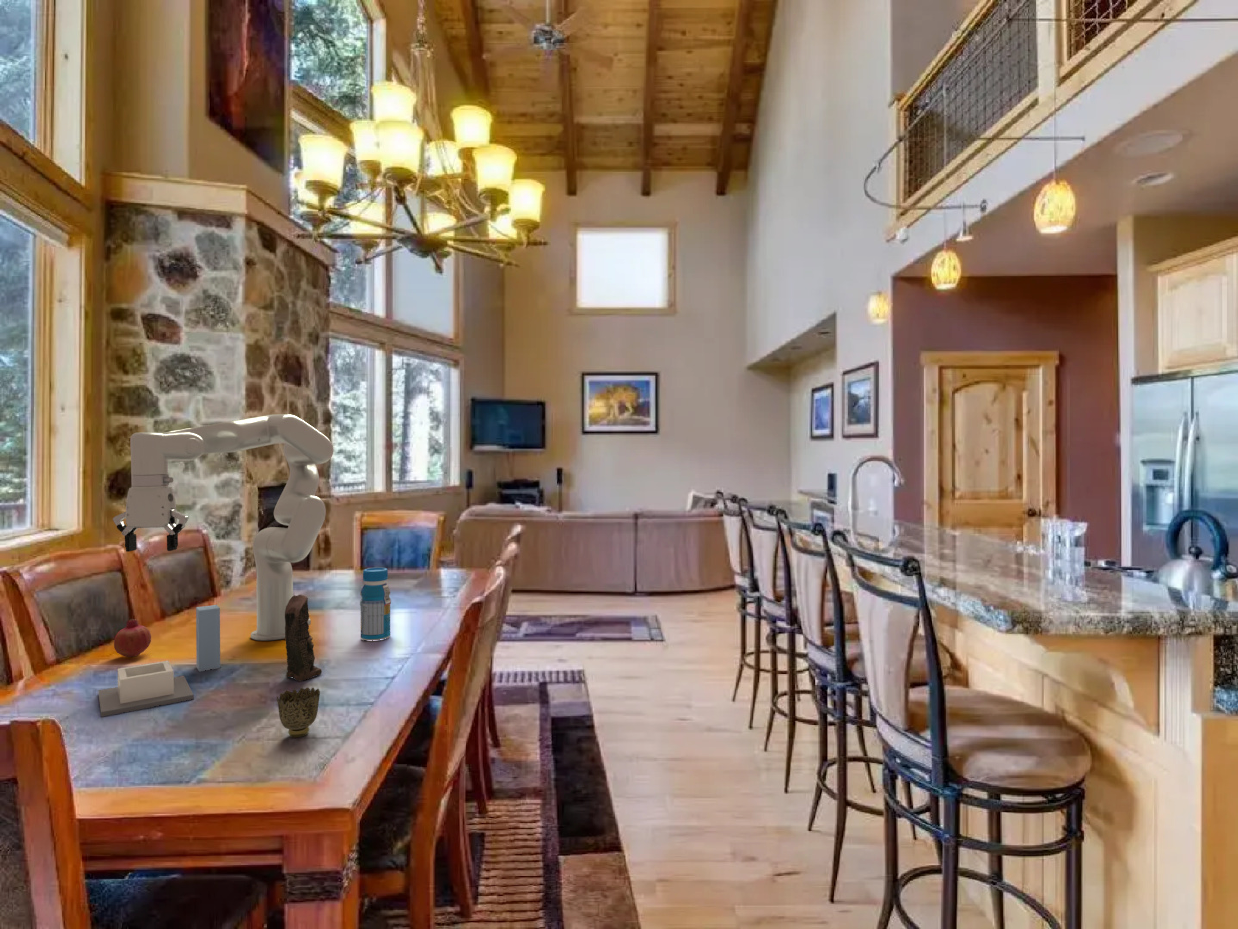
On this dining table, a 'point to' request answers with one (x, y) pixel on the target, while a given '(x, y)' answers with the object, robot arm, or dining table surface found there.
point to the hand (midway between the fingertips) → (151, 550)
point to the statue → (299, 640)
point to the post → (208, 637)
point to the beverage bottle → (375, 605)
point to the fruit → (132, 639)
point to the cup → (298, 710)
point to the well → (144, 689)
